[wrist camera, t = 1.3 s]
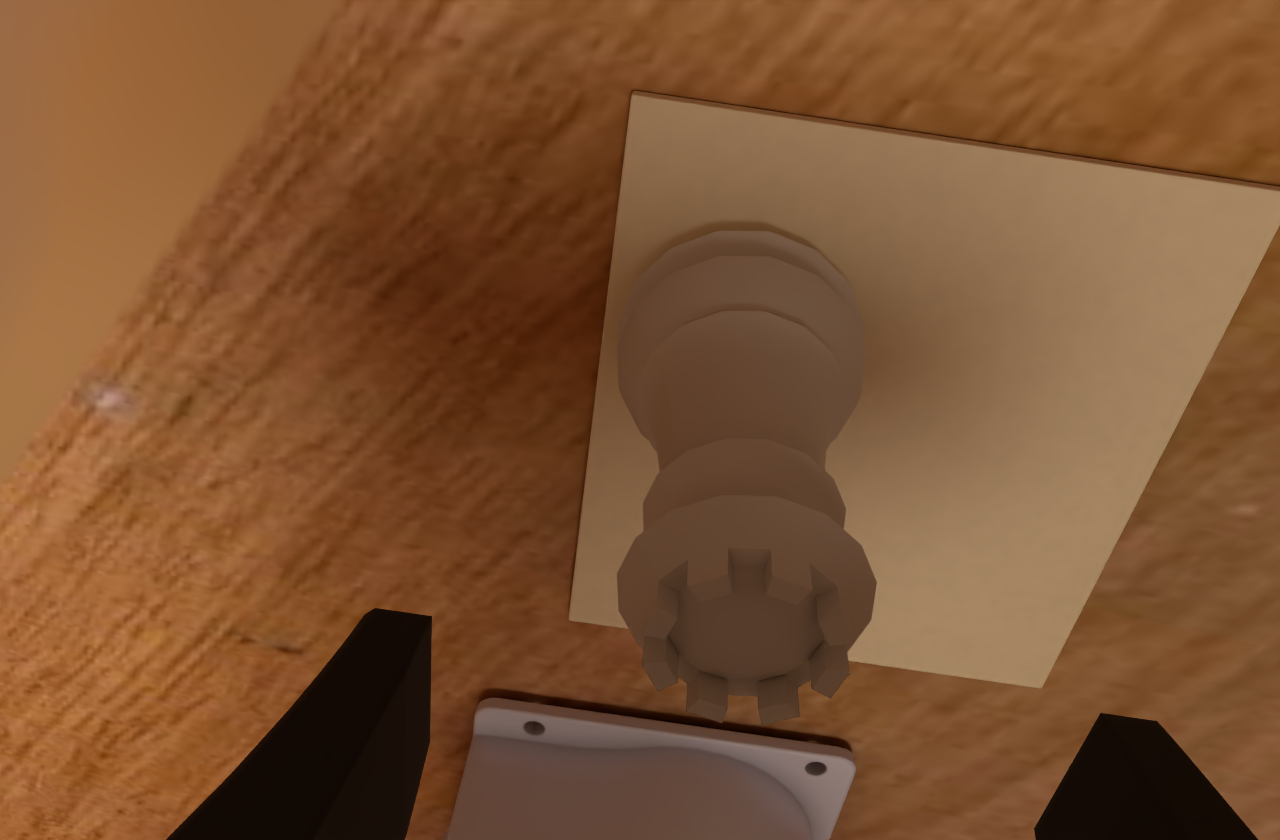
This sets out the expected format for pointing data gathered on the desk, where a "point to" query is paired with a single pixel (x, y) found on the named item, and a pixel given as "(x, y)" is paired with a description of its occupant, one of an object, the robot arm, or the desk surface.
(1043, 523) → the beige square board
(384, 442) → the desk surface
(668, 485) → the rook chess piece
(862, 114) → the desk surface
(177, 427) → the desk surface
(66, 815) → the desk surface
